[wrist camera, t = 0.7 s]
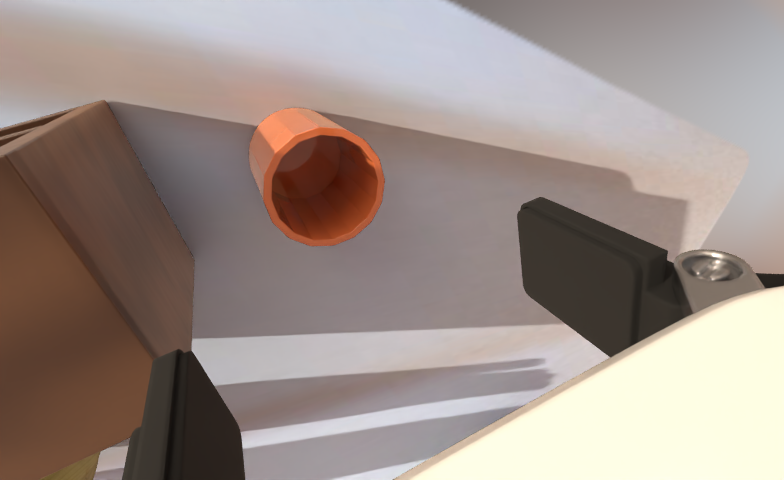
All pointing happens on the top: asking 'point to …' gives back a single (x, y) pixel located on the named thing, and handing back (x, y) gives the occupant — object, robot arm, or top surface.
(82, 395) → the brown wooden organizer box
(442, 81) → the top surface
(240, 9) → the top surface
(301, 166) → the tumbler
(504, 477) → the robot arm
